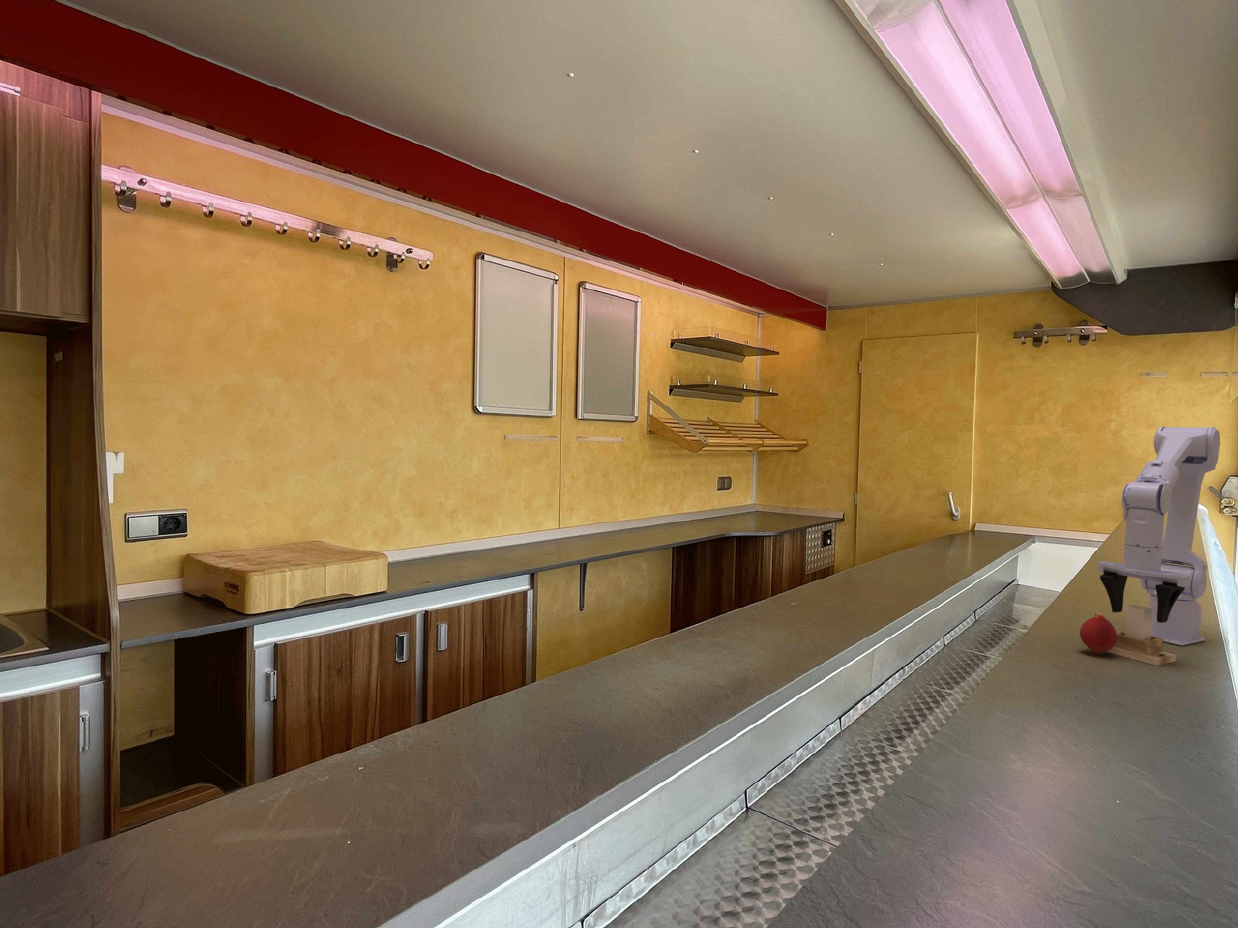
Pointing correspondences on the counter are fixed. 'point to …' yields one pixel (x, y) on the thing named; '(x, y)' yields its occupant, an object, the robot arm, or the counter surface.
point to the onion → (1098, 634)
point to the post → (1138, 622)
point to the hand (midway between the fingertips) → (1138, 616)
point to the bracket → (1142, 650)
